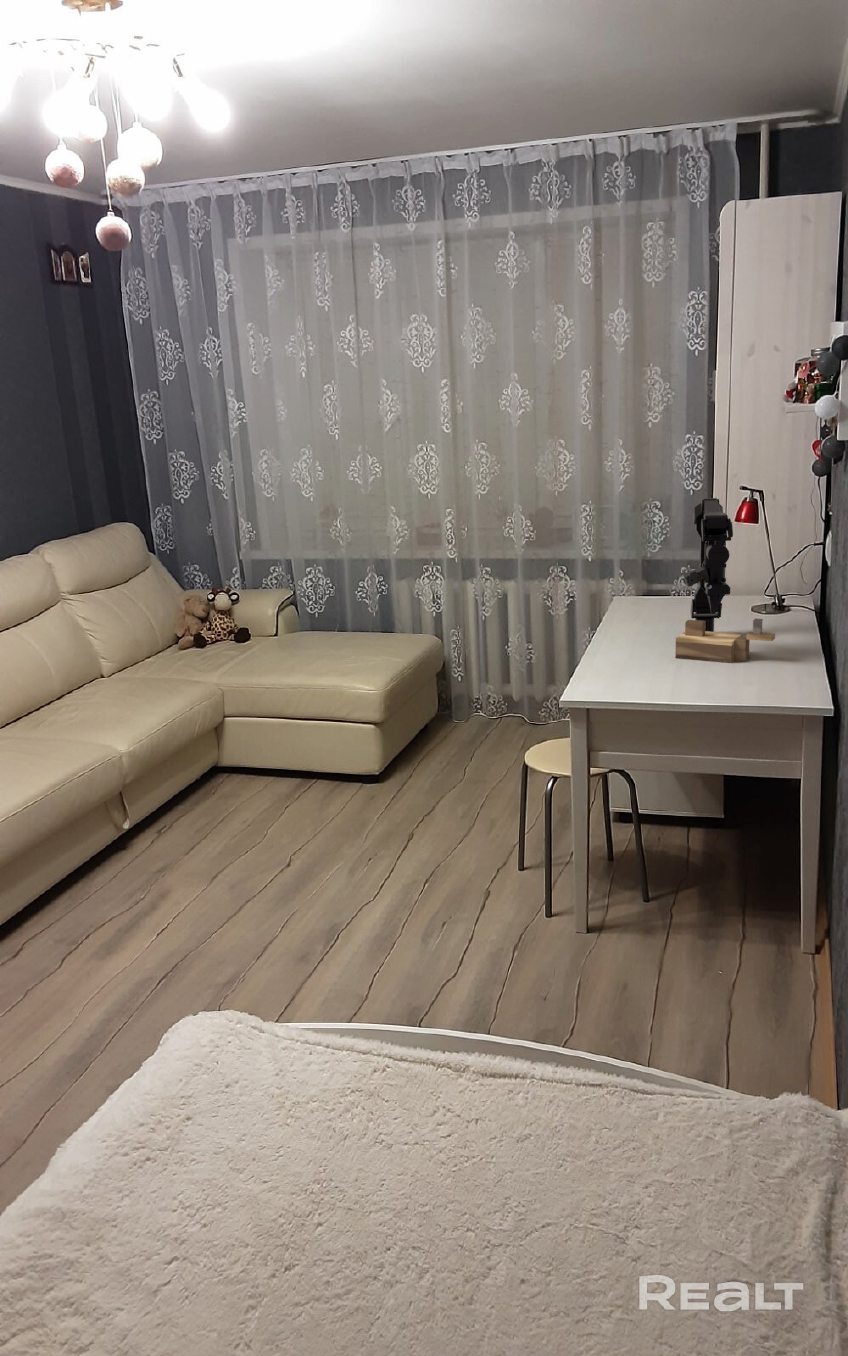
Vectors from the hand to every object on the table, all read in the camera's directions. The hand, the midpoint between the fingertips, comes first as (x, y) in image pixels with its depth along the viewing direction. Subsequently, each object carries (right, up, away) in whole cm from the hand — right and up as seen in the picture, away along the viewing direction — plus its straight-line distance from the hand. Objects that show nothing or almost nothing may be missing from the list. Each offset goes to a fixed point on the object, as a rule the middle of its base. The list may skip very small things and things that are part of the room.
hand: (713, 613), depth 302 cm
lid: (-1, -7, +2) cm, 8 cm away
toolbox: (+1, -12, +3) cm, 13 cm away
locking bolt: (+12, -7, -5) cm, 15 cm away
